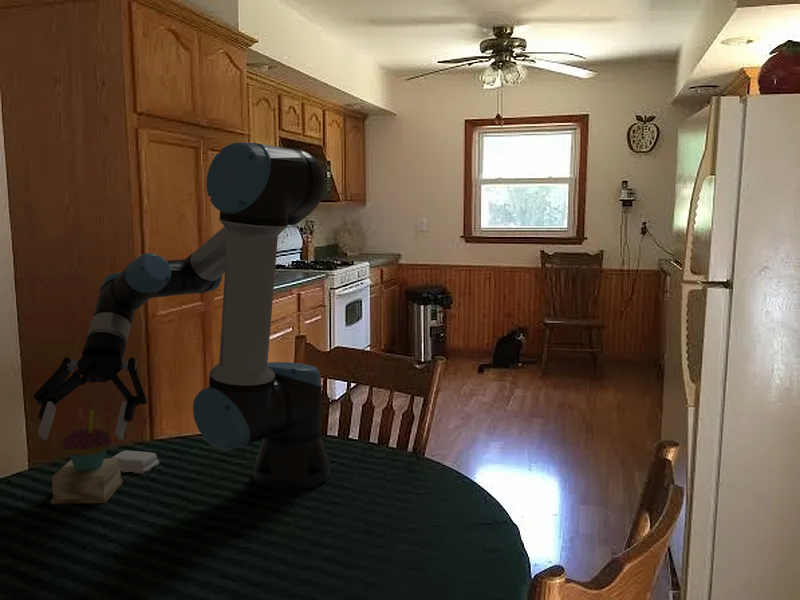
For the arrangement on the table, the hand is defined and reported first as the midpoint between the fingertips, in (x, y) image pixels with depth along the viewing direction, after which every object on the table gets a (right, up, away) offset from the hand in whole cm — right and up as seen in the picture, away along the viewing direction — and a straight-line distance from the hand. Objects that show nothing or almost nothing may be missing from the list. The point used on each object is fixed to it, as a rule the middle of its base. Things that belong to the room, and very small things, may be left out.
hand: (80, 436), depth 124 cm
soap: (+3, -10, +17) cm, 20 cm away
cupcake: (0, -6, +3) cm, 7 cm away
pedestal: (0, -11, +4) cm, 12 cm away
